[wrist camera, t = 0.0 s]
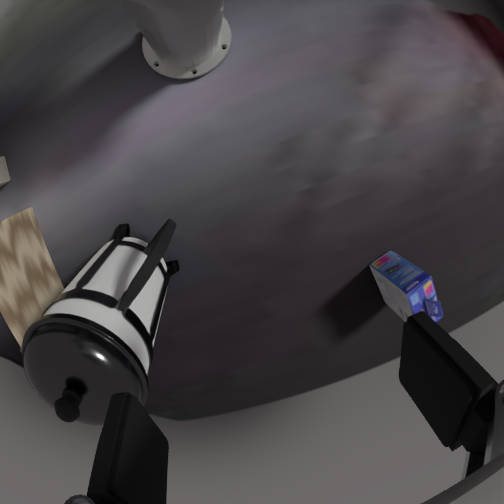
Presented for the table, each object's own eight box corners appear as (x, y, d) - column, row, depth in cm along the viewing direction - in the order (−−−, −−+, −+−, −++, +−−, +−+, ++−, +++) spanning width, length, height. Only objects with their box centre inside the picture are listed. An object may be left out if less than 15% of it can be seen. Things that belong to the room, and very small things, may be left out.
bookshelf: (-11, 228, 39) (-64, 259, 24) (31, 206, 39) (-26, 235, 25) (36, 331, 47) (2, 382, 33) (80, 321, 47) (48, 378, 33)
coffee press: (190, 308, 49) (181, 473, 21) (100, 309, 47) (33, 451, 19) (183, 203, 43) (137, 317, 15) (82, 209, 41) (-49, 306, 13)
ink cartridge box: (406, 286, 54) (450, 325, 40) (384, 303, 54) (425, 346, 41) (392, 247, 50) (441, 282, 37) (368, 264, 51) (413, 304, 37)
